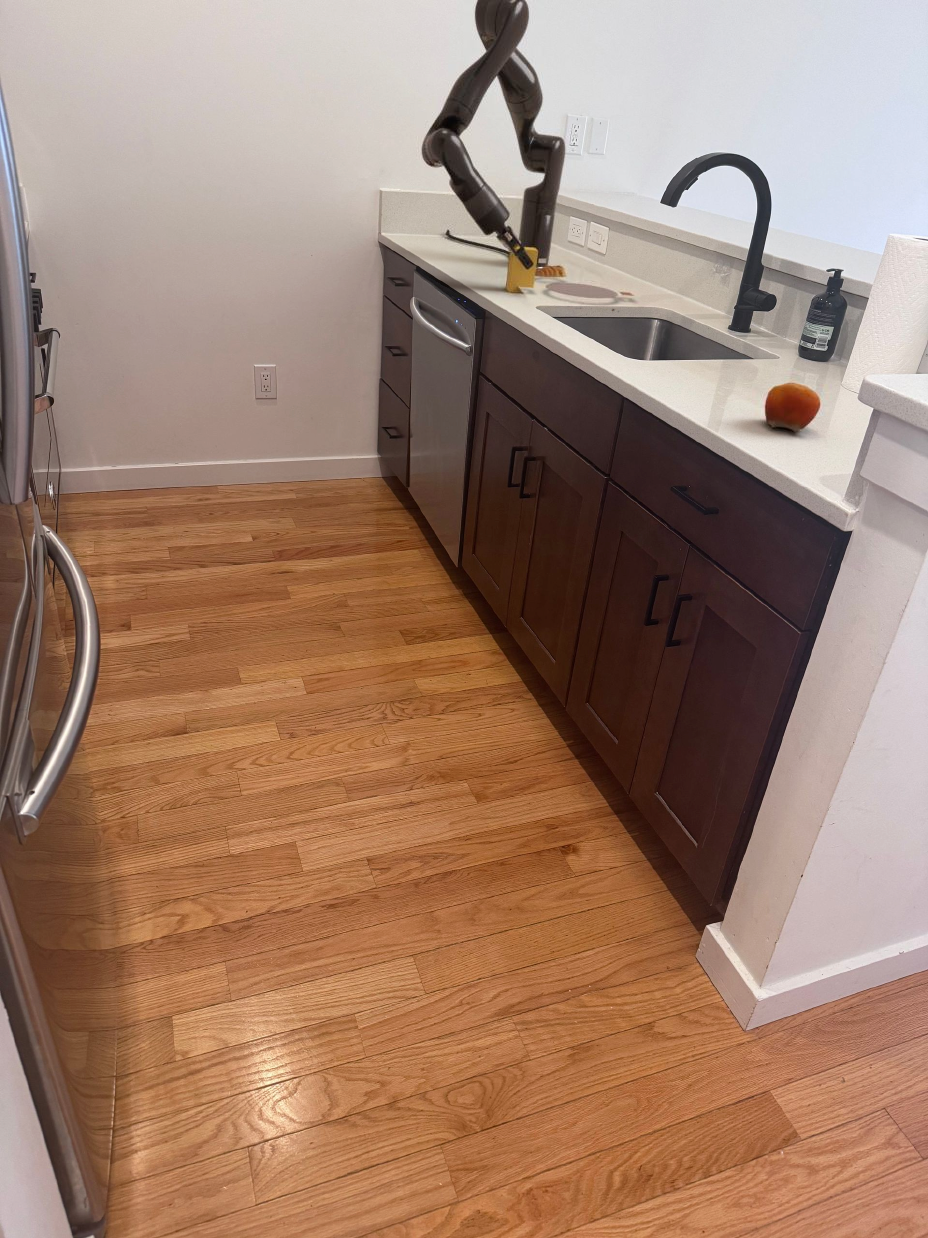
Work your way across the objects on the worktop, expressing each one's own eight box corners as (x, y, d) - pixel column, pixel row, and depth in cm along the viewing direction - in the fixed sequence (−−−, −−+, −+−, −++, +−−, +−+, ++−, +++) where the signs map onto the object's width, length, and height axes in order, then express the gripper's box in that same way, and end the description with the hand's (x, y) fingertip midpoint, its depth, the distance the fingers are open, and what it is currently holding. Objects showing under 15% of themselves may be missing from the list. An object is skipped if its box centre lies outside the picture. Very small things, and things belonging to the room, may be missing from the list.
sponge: (505, 288, 218) (510, 245, 213) (529, 290, 219) (534, 247, 214) (508, 292, 214) (513, 248, 209) (532, 293, 215) (538, 250, 210)
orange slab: (617, 297, 222) (618, 291, 221) (628, 298, 222) (630, 292, 221) (621, 301, 218) (623, 294, 217) (633, 301, 219) (634, 295, 218)
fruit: (759, 423, 133) (773, 372, 133) (755, 436, 141) (769, 388, 141) (814, 433, 131) (828, 381, 131) (807, 446, 139) (821, 397, 139)
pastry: (542, 283, 229) (544, 268, 227) (525, 278, 233) (526, 263, 231) (567, 282, 234) (570, 267, 232) (550, 277, 238) (552, 262, 237)
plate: (538, 286, 225) (539, 280, 224) (605, 291, 227) (606, 285, 227) (553, 301, 209) (554, 294, 209) (625, 306, 212) (626, 300, 211)
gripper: (503, 200, 199) (545, 258, 207) (493, 193, 211) (533, 248, 219) (478, 223, 201) (520, 280, 209) (469, 215, 213) (510, 269, 221)
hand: (527, 263), depth 214 cm, fingers open, 8 cm apart
